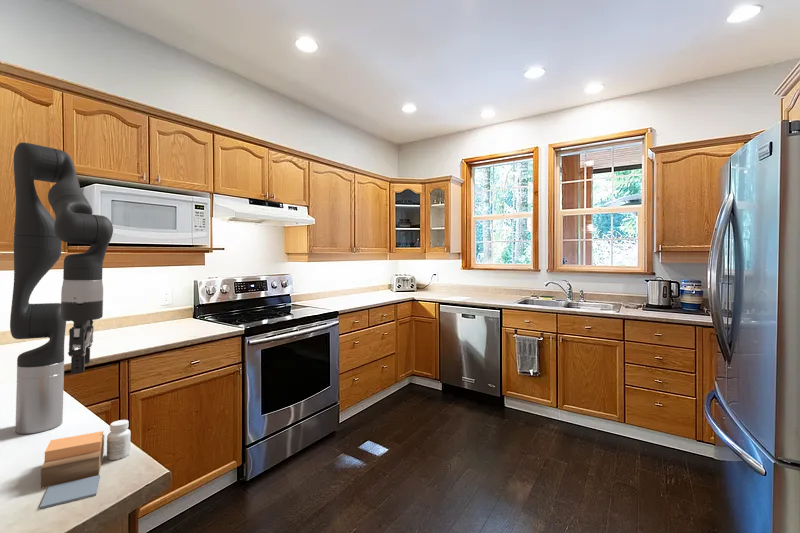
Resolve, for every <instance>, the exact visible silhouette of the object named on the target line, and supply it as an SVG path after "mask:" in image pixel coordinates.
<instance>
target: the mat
mask: <svg viewBox="0 0 800 533" xmlns="http://www.w3.org/2000/svg"><path fill="white" fill-rule="evenodd" d="M100 479H101V474H99V475H97V476H93V477H89V478H84V479H80V480H75V481H71V482H66V483H62V484H57V485H53V486H49V487H47V490H46V492H45V495H44V497H43V499H42V502H41V503H40V506H39V509H40V510H43V509H46V508H51V507H53V506H59V505H63V504H66V503H70V502H71V503H72V502H74V501H78V500H84V499H86V498H90V497H95V496H97V493H98V487H99V484H100Z"/></svg>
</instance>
